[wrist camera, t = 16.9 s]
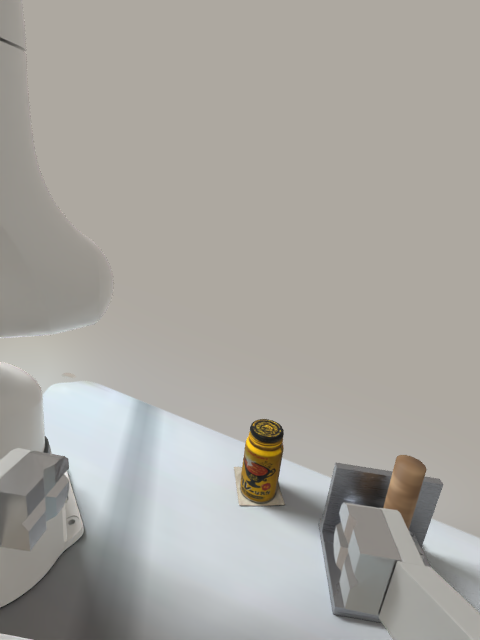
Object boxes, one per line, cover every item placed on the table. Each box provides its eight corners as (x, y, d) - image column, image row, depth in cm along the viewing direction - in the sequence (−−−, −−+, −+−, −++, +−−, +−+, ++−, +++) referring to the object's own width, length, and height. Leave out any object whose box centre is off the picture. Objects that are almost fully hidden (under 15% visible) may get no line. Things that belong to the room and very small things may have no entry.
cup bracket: (457, 636, 38) (491, 556, 34) (333, 614, 38) (355, 533, 35) (413, 540, 49) (436, 473, 46) (318, 525, 50) (334, 457, 47)
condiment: (239, 506, 52) (248, 440, 48) (233, 467, 60) (241, 408, 56) (284, 506, 53) (297, 441, 49) (273, 468, 61) (283, 410, 57)
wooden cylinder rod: (363, 563, 44) (390, 457, 40) (380, 554, 45) (408, 452, 41) (382, 586, 41) (414, 476, 37) (400, 577, 42) (432, 469, 38)
